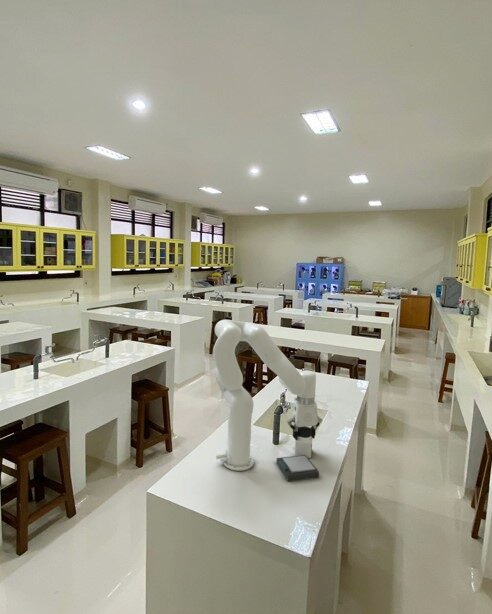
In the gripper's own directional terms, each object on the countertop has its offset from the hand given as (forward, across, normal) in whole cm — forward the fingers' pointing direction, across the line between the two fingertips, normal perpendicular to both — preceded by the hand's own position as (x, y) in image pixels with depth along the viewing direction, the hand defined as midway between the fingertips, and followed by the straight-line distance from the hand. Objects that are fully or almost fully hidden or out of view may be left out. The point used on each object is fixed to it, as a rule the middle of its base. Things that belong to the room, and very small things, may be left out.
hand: (303, 437), depth 166 cm
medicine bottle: (+8, 0, 0) cm, 8 cm away
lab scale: (+7, -8, -12) cm, 16 cm away
